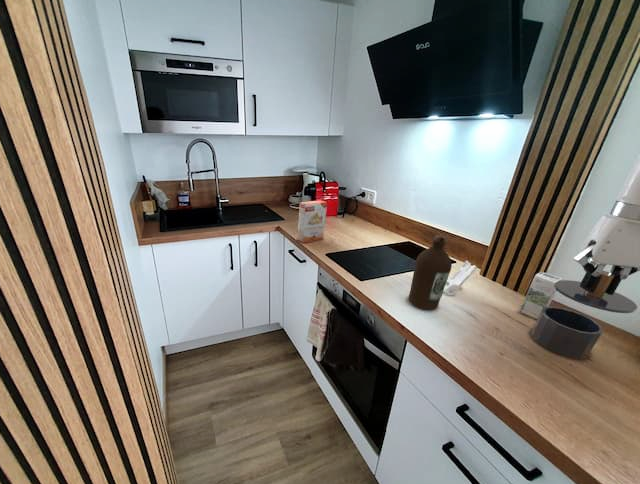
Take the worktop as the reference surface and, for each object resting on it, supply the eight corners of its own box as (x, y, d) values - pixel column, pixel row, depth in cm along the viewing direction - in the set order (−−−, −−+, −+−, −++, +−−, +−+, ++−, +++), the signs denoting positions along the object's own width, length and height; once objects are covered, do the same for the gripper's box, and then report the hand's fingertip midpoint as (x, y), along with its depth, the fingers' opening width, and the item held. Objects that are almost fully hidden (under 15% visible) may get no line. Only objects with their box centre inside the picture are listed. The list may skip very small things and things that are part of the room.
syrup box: (545, 315, 95) (563, 277, 90) (539, 321, 92) (557, 282, 86) (524, 307, 100) (540, 270, 94) (518, 312, 97) (534, 274, 91)
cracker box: (303, 243, 151) (305, 204, 142) (296, 239, 155) (299, 202, 147) (324, 239, 157) (327, 202, 149) (317, 236, 162) (320, 199, 154)
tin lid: (601, 288, 71) (615, 264, 68) (654, 320, 59) (672, 292, 56) (540, 281, 73) (551, 257, 71) (578, 310, 61) (593, 283, 59)
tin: (567, 333, 87) (580, 309, 84) (600, 362, 76) (616, 337, 73) (522, 327, 89) (532, 304, 86) (547, 354, 78) (560, 329, 75)
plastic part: (433, 285, 113) (439, 258, 108) (455, 284, 114) (463, 257, 109) (445, 295, 106) (453, 267, 101) (469, 293, 107) (478, 266, 102)
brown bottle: (400, 299, 102) (415, 233, 92) (419, 292, 107) (436, 229, 97) (426, 314, 94) (445, 244, 84) (446, 307, 98) (467, 239, 89)
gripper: (668, 211, 60) (623, 287, 67) (577, 205, 63) (544, 278, 70) (709, 221, 53) (654, 304, 60) (605, 214, 56) (565, 294, 63)
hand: (595, 290), depth 65 cm, fingers closed on tin lid, 3 cm apart
